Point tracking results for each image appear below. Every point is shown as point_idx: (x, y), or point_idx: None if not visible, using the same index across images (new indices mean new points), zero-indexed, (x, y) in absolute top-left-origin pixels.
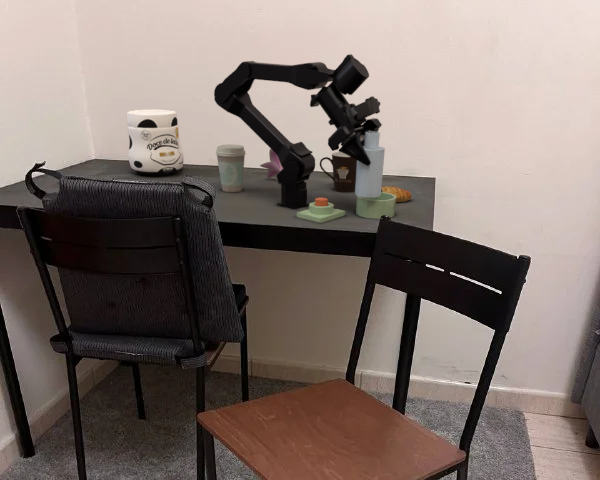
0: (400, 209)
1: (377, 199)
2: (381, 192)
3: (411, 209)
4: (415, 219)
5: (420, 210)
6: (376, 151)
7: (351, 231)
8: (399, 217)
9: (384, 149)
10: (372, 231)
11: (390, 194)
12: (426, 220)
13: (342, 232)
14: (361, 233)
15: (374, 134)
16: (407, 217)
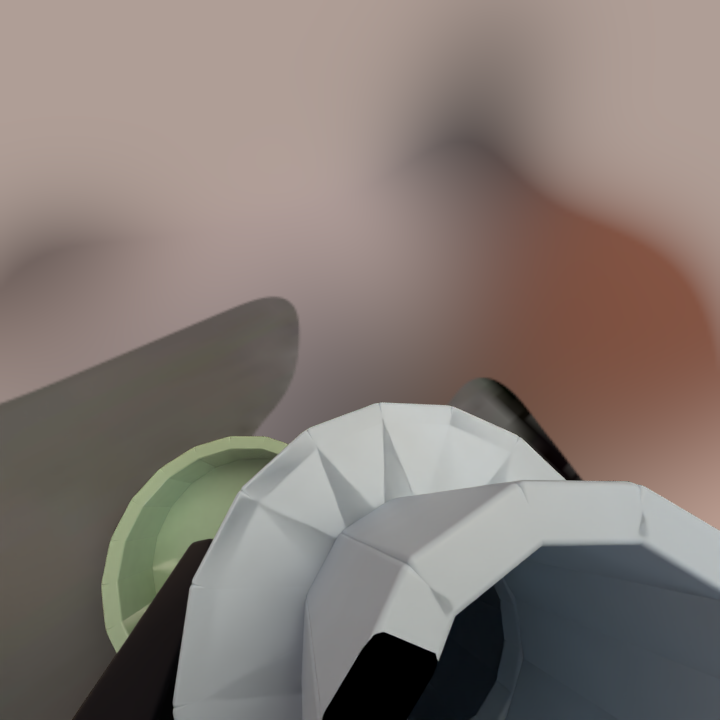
0: (80, 503)
1: (142, 613)
2: (115, 603)
3: (46, 460)
4: (218, 358)
5: (42, 417)
6: (506, 433)
7: (532, 446)
8: (232, 422)
9: (323, 424)
10: (473, 391)
11: (135, 519)
12: (204, 320)
13: (565, 463)
14: (520, 406)
15: (701, 536)
16: (209, 397)
